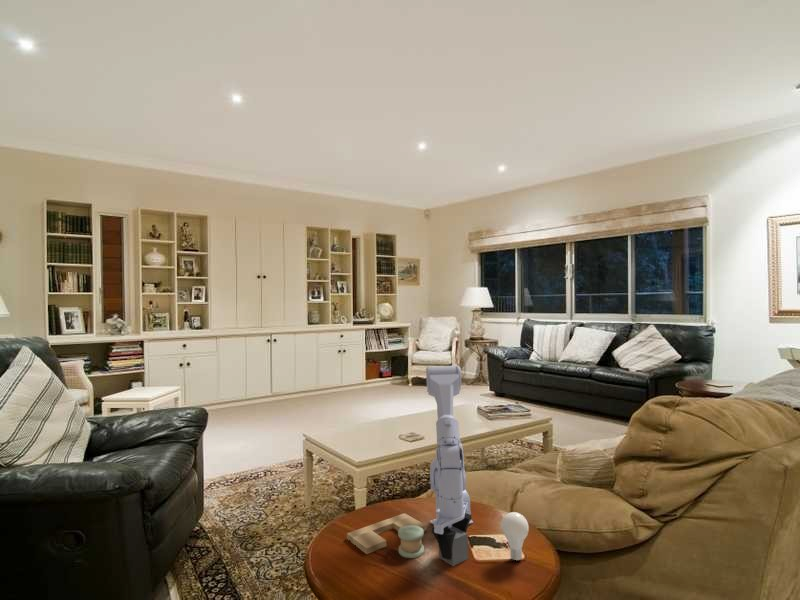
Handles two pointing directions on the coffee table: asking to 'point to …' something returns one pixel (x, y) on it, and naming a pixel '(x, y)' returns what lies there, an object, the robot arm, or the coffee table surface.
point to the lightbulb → (515, 533)
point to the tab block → (458, 548)
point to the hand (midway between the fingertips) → (453, 551)
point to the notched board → (369, 536)
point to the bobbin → (411, 541)
